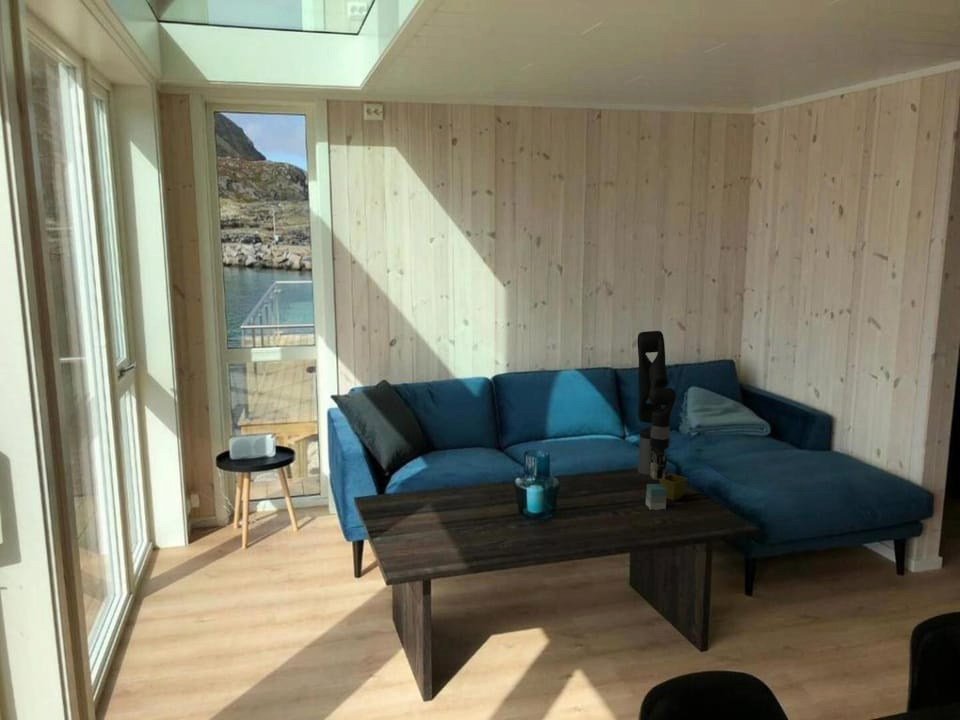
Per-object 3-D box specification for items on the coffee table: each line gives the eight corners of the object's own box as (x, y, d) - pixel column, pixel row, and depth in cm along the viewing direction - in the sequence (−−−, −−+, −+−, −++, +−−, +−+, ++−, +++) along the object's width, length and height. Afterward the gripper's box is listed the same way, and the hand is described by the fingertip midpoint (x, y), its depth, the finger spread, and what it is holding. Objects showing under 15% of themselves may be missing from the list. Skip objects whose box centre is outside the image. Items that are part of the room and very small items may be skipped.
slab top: (646, 491, 319) (647, 484, 318) (661, 490, 319) (662, 483, 319) (651, 496, 313) (651, 489, 312) (666, 496, 313) (666, 489, 313)
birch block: (650, 475, 317) (650, 463, 316) (661, 475, 317) (661, 462, 316) (653, 479, 313) (654, 466, 312) (664, 479, 313) (665, 466, 312)
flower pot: (674, 503, 322) (675, 482, 320) (657, 497, 328) (658, 477, 327) (686, 498, 327) (688, 478, 326) (669, 493, 334) (671, 473, 332)
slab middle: (646, 497, 320) (646, 491, 319) (661, 497, 320) (661, 490, 320) (650, 503, 313) (651, 496, 313) (666, 503, 314) (666, 496, 313)
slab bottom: (645, 504, 320) (645, 497, 319) (660, 504, 321) (660, 497, 320) (650, 510, 314) (650, 503, 313) (665, 510, 314) (665, 503, 314)
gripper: (645, 431, 319) (643, 471, 322) (656, 440, 305) (653, 482, 308) (663, 431, 319) (661, 470, 322) (674, 440, 305) (672, 481, 308)
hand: (657, 476), depth 315 cm, fingers closed on birch block, 4 cm apart
